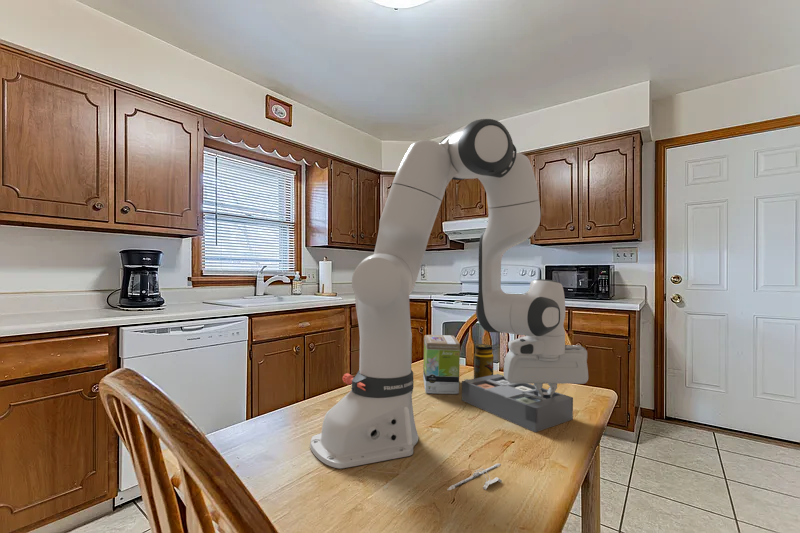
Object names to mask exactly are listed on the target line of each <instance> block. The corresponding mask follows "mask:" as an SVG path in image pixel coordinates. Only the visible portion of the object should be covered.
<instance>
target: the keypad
mask: <svg viewBox="0 0 800 533" xmlns="http://www.w3.org/2000/svg"><path fill="white" fill-rule="evenodd" d="M469 379H470V378H469ZM500 380H506V379H505V378H504V374H503V375H502V374H499V373H496V374H493V375H490V376H485V377H480V378H475V379H474V378H471V379H470V380H462V381H461V401H462V402H465V403H466V404H469V405H472V406H474V407H476V408H477V409H481V410H482V411H485V412H488V413H490V414H492V415H494V416H496V417H499V418H501V419H504V420H506V421H508V422H511V423H513V424H515V425H517V426H519V427H522V428H524V429H527V430H529V431H532V432H533V433H537V432H539V431H544V430H546V429H549V428H551V427H555V426H558V425H560V424H563V423H567V422H569V421H572V420H573V418H574V397H573V396H569V395H566V394H563V393H559V392H557V391H555V392H554V394H552V398H548V399H546V398H543V397H540V396H538V392H537V390H536V388H535V386H534V384H527V383H510V384H506V385H504V384H501V383H498V382H496V381H500ZM506 381H507V380H506ZM481 384H489V385H491V386H494V384H495V385H498V386H497V387H492V388H488V389H485V388H482V387H480V386H477V385H481ZM513 385H515V387H519V386H524V387H527V388H530V389H532V390H528V391H522V390H519V389H516V388H513V387H510V386H513ZM540 389H541V390H542V392H547V391H548V389H547V388H544V387H542V388H540ZM532 392H534V394H531V393H532ZM520 395H527V396H530V397H527V398H528V399H531V400H534V399H538V400H541V401H538V402H534V403H530V404H526V403H523V402H520V401H518V400H516V399H519V398H522V397H519V396H520Z"/></svg>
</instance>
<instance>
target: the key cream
mask: <svg viewBox="0 0 800 533" xmlns="http://www.w3.org/2000/svg"><path fill="white" fill-rule="evenodd" d="M515 388H516V389H519V390H522V391H528V390H532V389H530V388H527V387H524V386H519V387H515ZM531 394H534V392H532V393H531ZM519 397H522V398H523V397H525V398H527V397H530V396H527V395H520V396H519Z"/></svg>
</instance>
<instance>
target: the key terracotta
mask: <svg viewBox="0 0 800 533" xmlns="http://www.w3.org/2000/svg"><path fill="white" fill-rule="evenodd" d="M477 386H480V387H482V388H485V389H488V388H492V387H494V386H491V385H489V384H481V385H477Z"/></svg>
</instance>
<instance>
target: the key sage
mask: <svg viewBox="0 0 800 533" xmlns="http://www.w3.org/2000/svg"><path fill="white" fill-rule="evenodd" d="M516 400H518V401H520V402H523V403H526V404H530V403H534V402H537V401H534V400H531V399H528V398H525V397H523V398H519V399H516Z"/></svg>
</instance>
